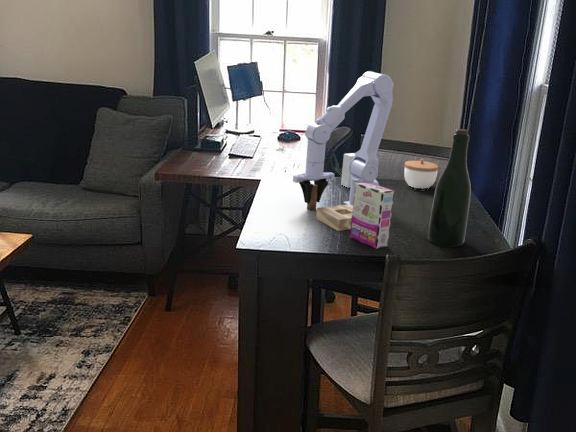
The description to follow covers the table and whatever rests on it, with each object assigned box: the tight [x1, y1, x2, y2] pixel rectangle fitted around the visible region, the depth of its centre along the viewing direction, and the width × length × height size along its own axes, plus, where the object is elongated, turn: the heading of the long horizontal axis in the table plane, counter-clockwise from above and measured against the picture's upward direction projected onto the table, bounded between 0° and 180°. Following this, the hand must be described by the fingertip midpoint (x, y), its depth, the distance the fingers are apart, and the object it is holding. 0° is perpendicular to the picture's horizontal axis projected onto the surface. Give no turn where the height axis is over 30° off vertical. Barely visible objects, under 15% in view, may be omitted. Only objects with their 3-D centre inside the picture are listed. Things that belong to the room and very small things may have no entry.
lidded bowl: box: [403, 158, 440, 189], centre depth 241 cm, size 13×13×11 cm
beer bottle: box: [427, 128, 472, 248], centre depth 180 cm, size 10×10×33 cm
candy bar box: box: [349, 182, 395, 250], centre depth 178 cm, size 11×5×16 cm, turn 37°
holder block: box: [315, 204, 353, 232], centre depth 196 cm, size 12×12×4 cm
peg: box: [306, 183, 318, 212], centre depth 206 cm, size 3×3×8 cm
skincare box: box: [340, 152, 356, 189], centre depth 237 cm, size 6×4×12 cm
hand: (311, 202), depth 207 cm, fingers open, 3 cm apart
